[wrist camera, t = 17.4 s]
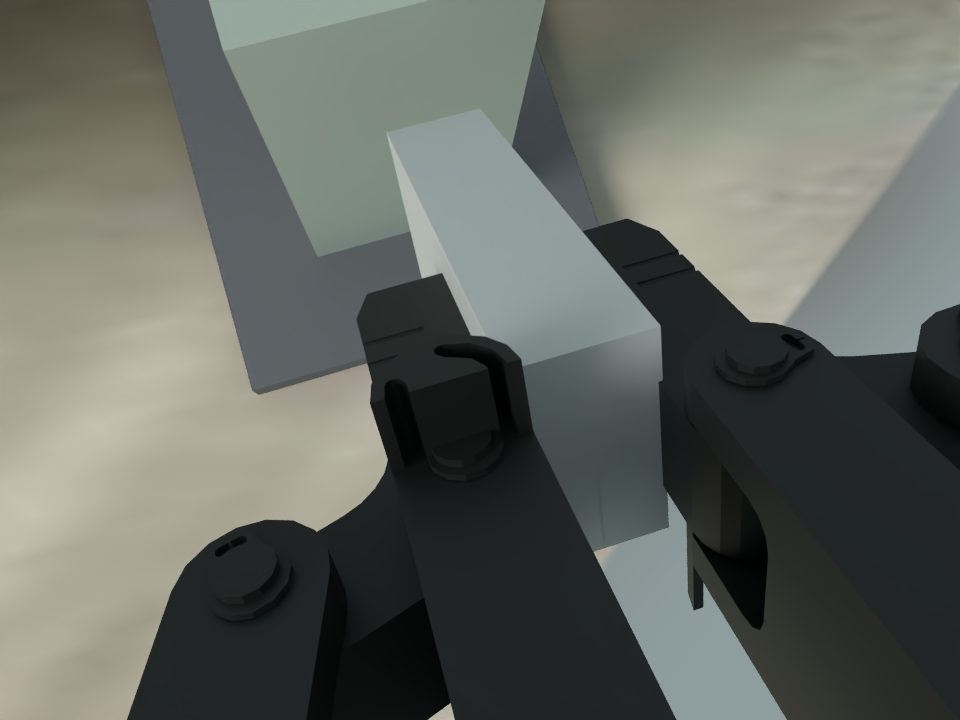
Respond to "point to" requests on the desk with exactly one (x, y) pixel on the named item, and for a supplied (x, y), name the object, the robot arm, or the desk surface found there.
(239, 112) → the domino mat
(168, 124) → the desk surface
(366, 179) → the domino
